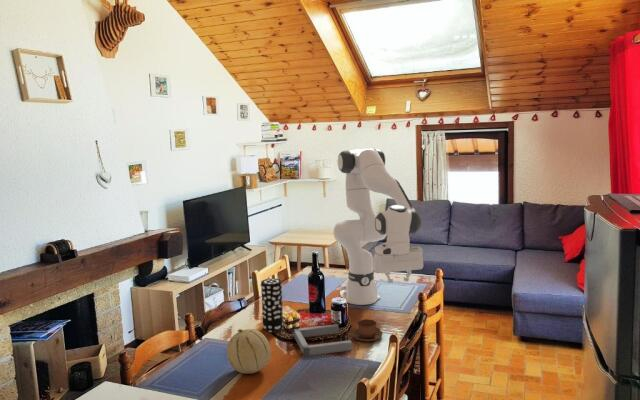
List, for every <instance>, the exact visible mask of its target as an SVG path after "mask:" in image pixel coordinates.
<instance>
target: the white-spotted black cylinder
mask: <svg viewBox="0 0 640 400" xmlns="http://www.w3.org/2000/svg"><path fill="white" fill-rule="evenodd" d="M260 284H261V286H260V287H261V288H260V289H261V307H262V310H261V311H262V314H261V315H262V330H263V331H265V332H268V333H276V332H280V331H282V330H284V309H283V285H282V284H283V282H282V280H281V279H279V278H266V279H263V280H261V282H260ZM282 326H283V327H282Z"/></svg>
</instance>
